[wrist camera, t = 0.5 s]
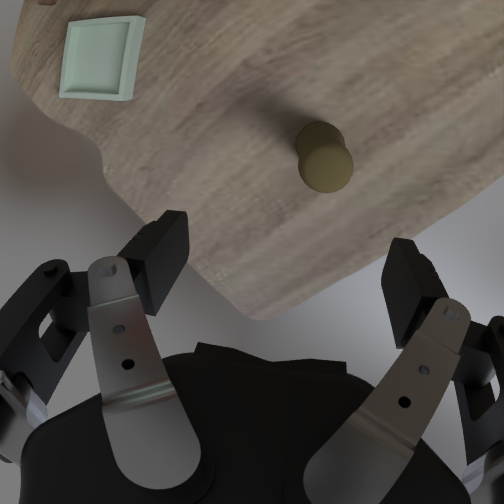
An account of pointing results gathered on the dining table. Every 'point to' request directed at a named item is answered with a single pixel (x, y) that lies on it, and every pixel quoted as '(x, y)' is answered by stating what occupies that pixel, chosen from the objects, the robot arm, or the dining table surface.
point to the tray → (101, 58)
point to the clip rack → (47, 2)
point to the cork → (323, 158)
